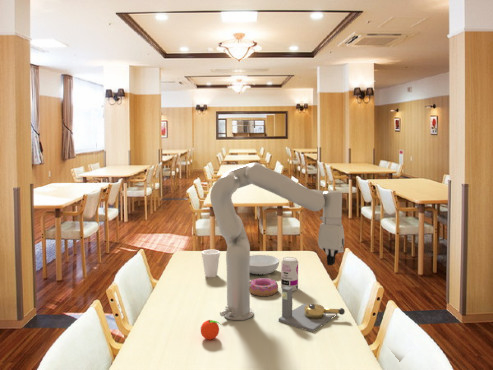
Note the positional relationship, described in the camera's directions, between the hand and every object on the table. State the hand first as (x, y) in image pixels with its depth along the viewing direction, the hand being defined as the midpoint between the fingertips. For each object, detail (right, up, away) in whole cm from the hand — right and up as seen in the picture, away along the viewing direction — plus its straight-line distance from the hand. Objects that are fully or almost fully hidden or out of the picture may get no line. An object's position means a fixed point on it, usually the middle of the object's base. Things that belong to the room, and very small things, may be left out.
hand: (330, 264), depth 185 cm
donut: (-27, -19, +30) cm, 45 cm away
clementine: (-48, -25, -18) cm, 57 cm away
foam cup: (-54, -16, +54) cm, 78 cm away
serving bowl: (-27, -15, +60) cm, 67 cm away
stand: (-9, -22, -1) cm, 24 cm away
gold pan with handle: (-3, -21, -1) cm, 21 cm away
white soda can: (-14, -18, +34) cm, 41 cm away
